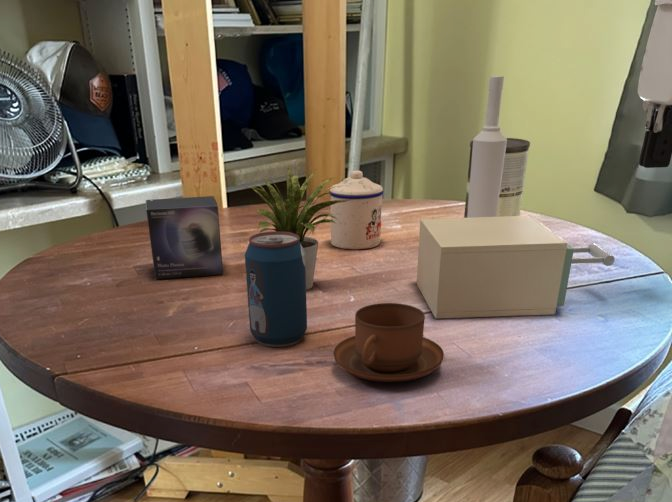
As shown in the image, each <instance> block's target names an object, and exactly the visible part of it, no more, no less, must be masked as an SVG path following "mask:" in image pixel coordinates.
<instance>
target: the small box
mask: <svg viewBox="0 0 672 502" xmlns="http://www.w3.org/2000/svg"><path fill="white" fill-rule="evenodd" d="M145 212H146V218H147V226H148V234H149V241H150V248H151V256H152V263H153V271H154V277H155V279H156V280H162V279H177V278H188V277H189V278H190V277H202V276H203V277H205V276H221V275H224V267H223V253H222V243H221V228H220V217H219V206H218V202H217V200H216V198H215V196H213V195H210V196H190V197H173V198H156V199H155V198H154V199H146V200H145Z"/></svg>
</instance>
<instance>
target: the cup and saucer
mask: <svg viewBox="0 0 672 502" xmlns="http://www.w3.org/2000/svg"><path fill="white" fill-rule="evenodd" d="M425 318H426V317H425V313H424V311H423V310H421V309H420V308H418V307H416V306H413V305H409V304H405V303H396V302H382V303H380V302H379V303H372V304H369V305H365V306H363V307H360V308H359V309H358V310H356V312H355V316H354V323H355V324H354V330H355V331H354V335H353V336H349V337H347V338H345V339H343V340H342V341H340V342H339V343H337V344H336V346H335V347H334V349H333V358H334V361H335V362H336V364H337V365H338V366H339V367H340V368H341V369H342V370H344V372H347V373H348V374H350V375H352V376H354V377H358V378H360V379H364V380H367V381H373V382H382V383H383V382H384V383H395V382H397V383H398V382H408V381H412V380H416V379H419V378H422V377H425V376H427V375H429V374H431V373H432V372H434V371H435V370H436V369H438V368H439V367H440V365H441V364H442V362H443V360H444V357H445V353H444V350H443V348H442V347H441V345H439V344H438V343H437V342H435V341H433V340H432V339H429V338H427V337H424V331H425V330H424V328H425Z"/></svg>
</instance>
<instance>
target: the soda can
mask: <svg viewBox="0 0 672 502" xmlns="http://www.w3.org/2000/svg"><path fill="white" fill-rule="evenodd" d="M299 240H300V238H299V236H298V235H297V234H294V233H290V232H276V231H263V232H260V233H255V234H253V235H251V236H250V237H249V238H248V246H247V248H246V250H245V252H244V262H245V263H244V264H245V274H246V275H245V277H246V290H247V292H246V293H247V305H248V306H247V308H248V319H249V320H248V322H249V331H250V334H252V337H253V338H254V339H255V340H256V342H257V343H258V344H260V345H262V346H266V347H271V348H283V347H289V346H293V345H296V344H297V343H299V342H300V341H301V340H303V337H304V335H305V333H306V332H307V330H308V311H307V309H308V308H307V307H308V306H307V305H308V304H307V290H306V268H305V251H304V249H303V247H302V245H301V243H300V241H299Z"/></svg>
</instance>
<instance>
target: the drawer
mask: <svg viewBox="0 0 672 502" xmlns="http://www.w3.org/2000/svg"><path fill="white" fill-rule="evenodd" d="M574 253H575V254H577V253H578V254H580V253H588V254H589V255H591V256H589V257H573V256H574ZM615 259H616V257H615V256H614V255H612V254H611V253H609V252H608V251H607V250H605V249H604V248H602V247H601V246H599V245H598V244H596V243H590V244H589V245H588V246H574V247H573V246H571V245H570V244H569V243H567V249H566V254H565V260H564V266H563V272H562V277H561V283H560V289H559V294H558V300H557V306H556V307H564V306H565V300H566V295H567V290H568V284H569V278H570V273H571V267H572V265H573V264H574V265H575V264H577V265H578V264H603V265H605V266H607V267H610V266H612V265H614V263H615Z"/></svg>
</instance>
